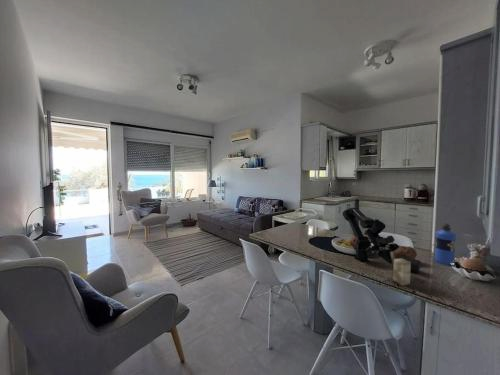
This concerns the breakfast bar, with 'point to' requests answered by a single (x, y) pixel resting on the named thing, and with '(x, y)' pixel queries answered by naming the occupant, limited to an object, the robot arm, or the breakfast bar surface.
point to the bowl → (345, 245)
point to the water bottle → (445, 245)
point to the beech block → (401, 271)
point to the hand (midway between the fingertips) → (391, 263)
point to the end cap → (413, 264)
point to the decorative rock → (405, 252)
